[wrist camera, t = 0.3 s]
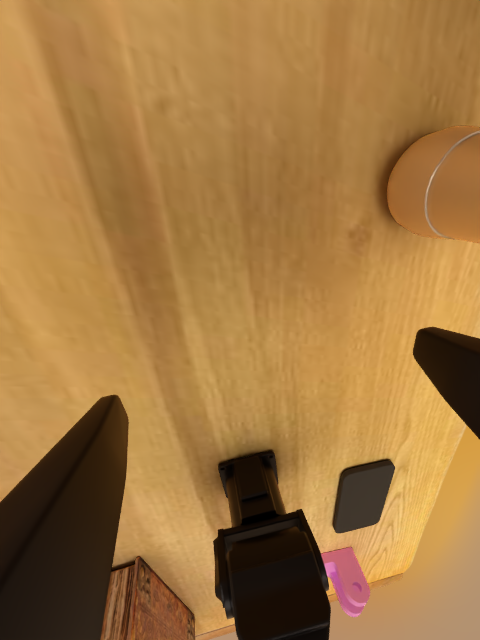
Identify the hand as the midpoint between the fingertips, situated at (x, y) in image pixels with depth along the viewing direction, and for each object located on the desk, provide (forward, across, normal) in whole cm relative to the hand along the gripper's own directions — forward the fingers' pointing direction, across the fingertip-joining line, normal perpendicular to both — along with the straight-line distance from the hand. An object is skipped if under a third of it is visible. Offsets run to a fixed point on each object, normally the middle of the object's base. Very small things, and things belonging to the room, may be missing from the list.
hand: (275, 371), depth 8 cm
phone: (+15, -14, +39) cm, 44 cm away
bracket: (+15, -8, +57) cm, 59 cm away
